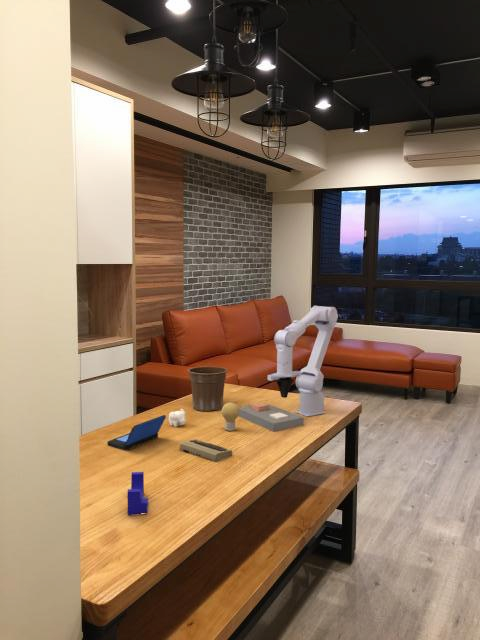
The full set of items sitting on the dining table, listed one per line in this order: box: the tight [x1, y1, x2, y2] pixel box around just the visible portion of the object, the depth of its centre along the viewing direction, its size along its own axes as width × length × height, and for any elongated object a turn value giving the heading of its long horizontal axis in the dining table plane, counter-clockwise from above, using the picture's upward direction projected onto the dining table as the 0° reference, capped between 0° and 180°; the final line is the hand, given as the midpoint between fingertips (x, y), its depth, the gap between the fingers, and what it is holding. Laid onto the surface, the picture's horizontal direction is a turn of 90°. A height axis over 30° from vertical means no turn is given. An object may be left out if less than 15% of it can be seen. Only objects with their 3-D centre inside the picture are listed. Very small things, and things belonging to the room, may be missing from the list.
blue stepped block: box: [127, 471, 149, 516], centre depth 134 cm, size 12×4×6 cm, turn 6°
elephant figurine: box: [168, 408, 187, 428], centre depth 197 cm, size 7×8×6 cm
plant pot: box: [187, 365, 228, 412], centre depth 221 cm, size 16×16×16 cm
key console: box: [238, 402, 305, 433], centre depth 205 cm, size 14×24×3 cm, turn 34°
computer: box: [179, 439, 233, 463], centre depth 170 cm, size 16×8×3 cm, turn 50°
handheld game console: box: [106, 414, 166, 451], centre depth 179 cm, size 16×13×9 cm
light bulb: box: [221, 402, 240, 432], centre depth 192 cm, size 6×6×10 cm
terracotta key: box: [250, 401, 270, 412], centre depth 209 cm, size 5×5×3 cm
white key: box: [269, 413, 288, 419], centre depth 200 cm, size 5×5×3 cm
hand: (284, 397), depth 203 cm, fingers closed
